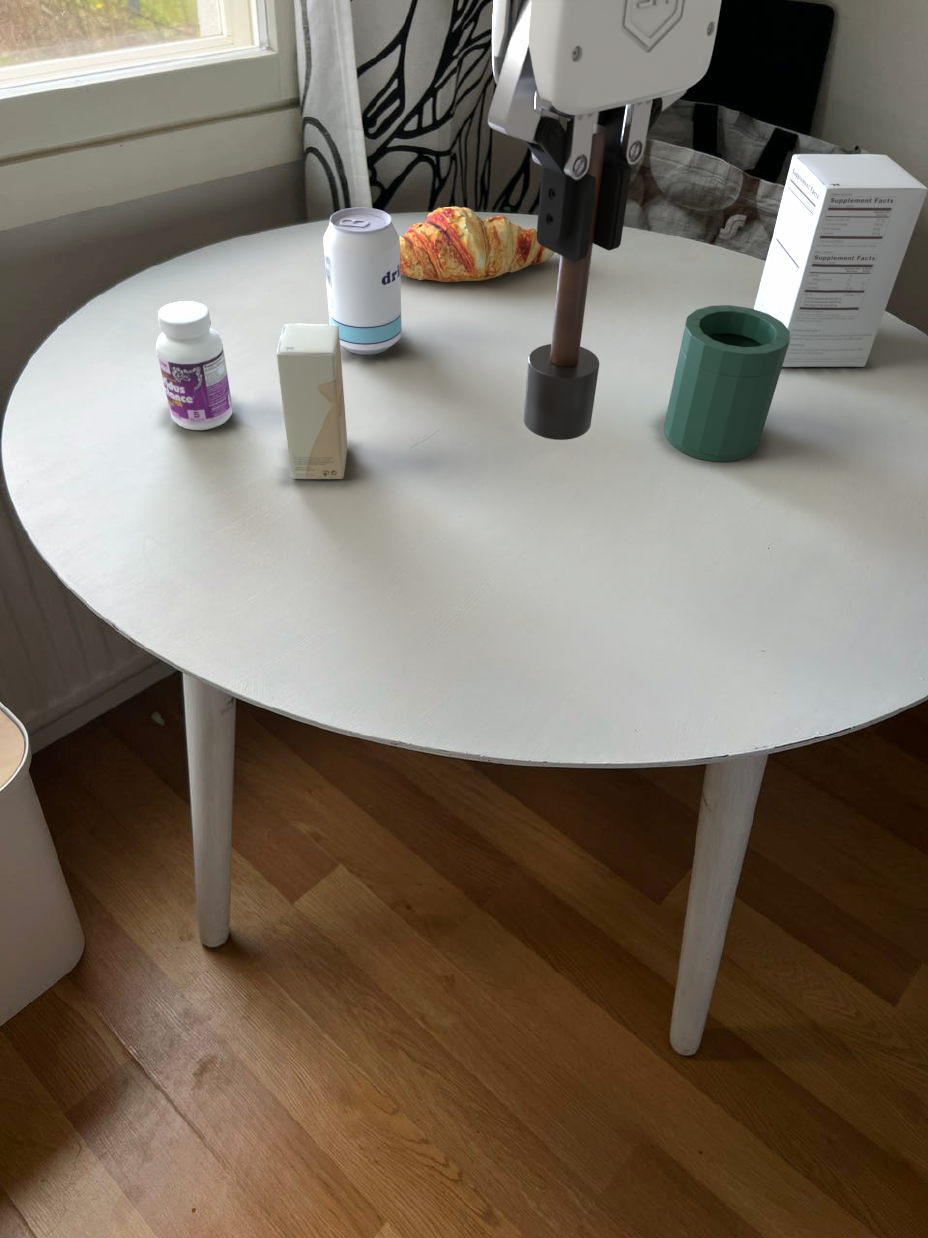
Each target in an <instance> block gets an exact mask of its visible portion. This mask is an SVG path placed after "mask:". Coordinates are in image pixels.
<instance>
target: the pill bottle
mask: <svg viewBox="0 0 928 1238" xmlns="http://www.w3.org/2000/svg"><path fill="white" fill-rule="evenodd" d="M157 318H158V325H159V329H160V330H161V333H160V334H159V336H157V339H156V343H155V349H156V354H157V359H158V364H159V367H160V373H161V378H162V382H163V387H164V391H165V395H166V399H167V405H168V408H169V412H170V417H171V419H172V421H173V422H174V423H175V424H176V425H179V427H182V428H184V429H188V430H192V431H205V430H206V431H207V430H211V429H214V428H215V429H216V428H217V427H220V426H221V425H223V424H225V423H226V422H227V421H229V420H230V418H231V416H232V415H233V411H234V408H233V401H232V395H231V388H230V381H229V375H228V370H227V364H226V356H225V351H224V345H223V339H222V338H221V336H220V334H219V333H218V332H217V331H216V330H215V329H213V328H212V327H211V326H212V321H211V316H210V311H209V309H208V307H207V306H206V305H205V304H202V303H201V302H197V301H191V300H180V301H174V302H170V303H168V304H165V305H164V306H161V307H160V309H159V310H158V312H157Z"/></svg>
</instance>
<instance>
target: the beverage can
mask: <svg viewBox="0 0 928 1238" xmlns="http://www.w3.org/2000/svg"><path fill="white" fill-rule="evenodd" d="M399 236H400V234H399V233H398V231H397V229H396V227H395V226H394V224H393V219H392V216H391V215H390V214H389V213H388V212H386V211H384V210H381V209H377V208H373V207H361V206H358V207H349V208H344V209H340V210H338V211H336V212H334V213H332V214H331V215H330V217H329V225H328V226H327V229H326V231H325V233H324V235H323V241H322V242H323V253H324V265H325V266H324V267H325V277H326V278H325V280H326V293H327V305H328V318H329V324H333V325H339V335H340V347H342V348H344V350H346V351H348V352H349V353H351V354H355V355H361V356H370V355H371V356H373V355H376V354H380V353H383V352H385V351H387V350H389V349H390V347H391V346H393V345H395V344H397V342H399V340H400V339H401V337H402V285H401V284H402V282H401V272H400V238H399Z"/></svg>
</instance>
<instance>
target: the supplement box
mask: <svg viewBox="0 0 928 1238" xmlns="http://www.w3.org/2000/svg"><path fill="white" fill-rule="evenodd" d="M927 194H928V187H927V186H925V185H924V184H923V183H921V182H920V181H919V180H918V179H917V178H916V177H914V176H913V175H912V174H910V173H909V172H908V171H907V170H906V169H904V167H902V166H901V165H900V164H898V163H897V162H896V161H895V160H893V159H892V158H891V157H889V156H888V155H887V154H878V153H860V154H859V153H857V154H855V153H851V154H849V153H848V154H844V153H842V154H841V153H795V154H793V155H792V157H791V161H790V165H789V169H788V173H787V177H786V181H785V185H784V189H783V192H782V197H781V201H780V204H779V209H778V214H777V218H776V221H775V222H776V223H775V226H774V230H773V235H772V238H771V242H770V245H769V249H768V252H767V256H766V258H765V259H766V260H765V263H764V267H763V271H762V274H761V275H762V276H761V279H760V282H759V283H760V284H759V287H758V291H757V295H756V298H755V303H754V307H753V309H755V310H758V311H761V312H764V313H767V314H769V315H771V316H773V317H774V318H776V319H778V320H779V321H781V322H782V323H783V324H784V325H785V326H786V328H787V329H788V330H789V332H790V342H789V345H788V349H787V352H786V355H785V359H784V362H783V365H782V368H810V367H811V368H813V367H815V368H817V367H818V368H828V367H829V368H833V367H834V368H837V367H838V368H841V367H843V368H844V367H846V368H847V367H851V368H854V367H857V368H858V367H859V368H862V367H866V365H867V362H868V359H869V356H870V353H871V350H872V348H873V345H874V342H875V340H876V337H877V334H878V332H879V328H880V325H881V324H882V319H883V318H884V314H885V311H886V309H887V305H888V302H889V300H890V297H891V296H892V295H891V294H892V291H893V288H894V286H895V283H896V280H897V277H898V275H899V273H900V269H901V267H902V264H903V261H904V258H905V255H906V253H907V250H908V246H909V244H910V242H911V238H912V236H913V233H914V230H915V228H916V226H917V225H916V224H917V221H918V219H919V216H920V213H921V211H922V208H923V205H924V202H925V200H926V198H927V197H926V196H927Z"/></svg>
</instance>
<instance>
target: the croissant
mask: <svg viewBox="0 0 928 1238" xmlns="http://www.w3.org/2000/svg"><path fill="white" fill-rule="evenodd" d="M536 235H537V228H533V227H530V228H527V229H526V228H523V227H521V226H520V225H518V224H516V223H512V222H511V220H510V219H509V218H507V217H506V216H505V215H503V214H500V215H496V216H493V217H492V216H487V217H485V219H484V220H483V219H482V218H481V217H480V216H479V215H477V214H476V212H475V211H473V210H472V209H471V208H469V207H459V206H456V205H455V206H447V207H438V208H436V209H435V210H433V211H432V212H430V213H428V214H427V218H426V219H425V221H424V222H417V223H413V224H411V225H410V226H409V227H408V229H407V230H406V232H405V233H404V235H403V236H401V235H399V238H400V274H402V275H403V276H405V277H408V278H411V279H416V280H418V281H423V280H428V281H437V282H442V283H456V284H457V283H459V282H481V281H486V280H490V279H495V278H496V277H497V278H498V277H500V276H503V274H506V273H515V272H518V271H521V270H522V269H524V268H527V267H528V266H530V265H539V264H542V263H544V262H546V261H548V260H549V259H550V260H551V258H552V257H553V256H554V254H556V253H555V252H553V251H551V250H549V249H547V248H545V247H543V246H541V245H540V244H539V243H538V241H537V236H536Z"/></svg>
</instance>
